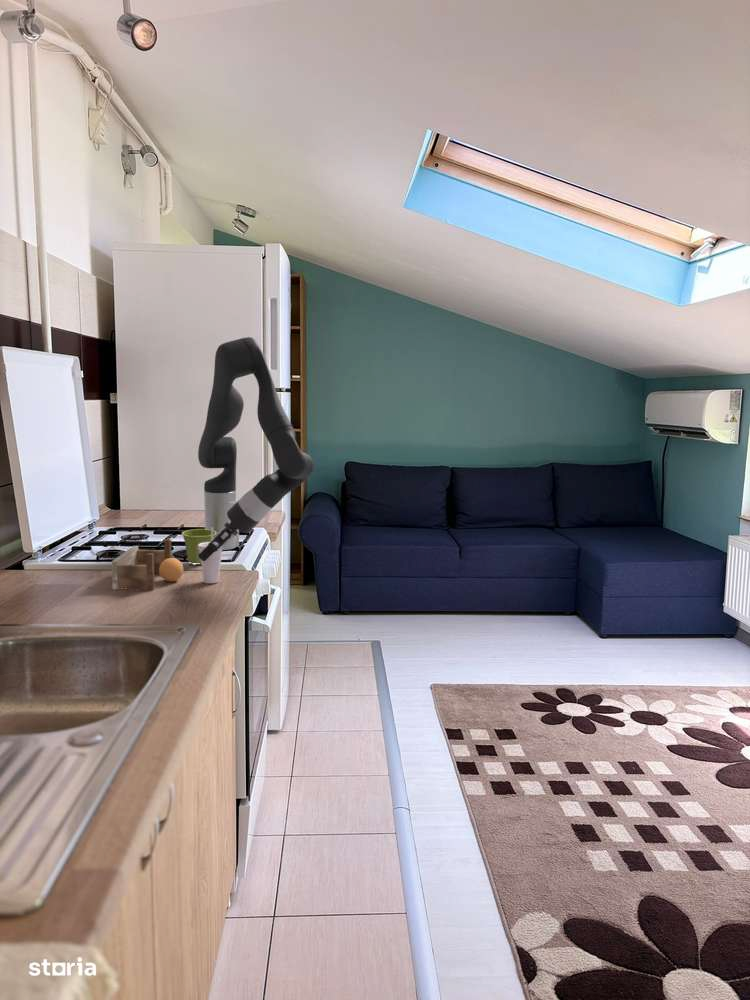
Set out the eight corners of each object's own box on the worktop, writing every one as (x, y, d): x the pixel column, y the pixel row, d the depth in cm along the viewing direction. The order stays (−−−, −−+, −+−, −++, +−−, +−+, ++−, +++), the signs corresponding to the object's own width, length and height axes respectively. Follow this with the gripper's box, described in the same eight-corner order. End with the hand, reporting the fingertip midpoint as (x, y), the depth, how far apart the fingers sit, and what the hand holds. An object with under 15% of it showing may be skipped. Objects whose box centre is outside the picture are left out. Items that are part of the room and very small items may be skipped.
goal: (171, 572, 215) (170, 539, 213) (153, 590, 198) (152, 554, 197) (134, 571, 215) (133, 538, 214) (112, 589, 198) (111, 553, 197)
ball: (174, 576, 211) (174, 554, 210) (188, 581, 207) (188, 558, 206) (154, 581, 206) (154, 558, 205) (168, 585, 202) (167, 562, 201)
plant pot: (223, 561, 228) (223, 531, 226) (203, 568, 219) (202, 537, 218) (196, 557, 232) (195, 527, 230) (175, 564, 223) (174, 533, 222)
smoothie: (218, 585, 203) (217, 530, 200) (194, 583, 204) (192, 529, 202) (228, 579, 209) (227, 525, 207) (204, 577, 210) (203, 524, 208)
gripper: (244, 494, 210) (200, 538, 212) (233, 504, 196) (186, 551, 198) (265, 515, 211) (220, 558, 213) (256, 526, 196) (208, 573, 199)
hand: (204, 555), depth 205 cm, fingers closed on smoothie, 6 cm apart
